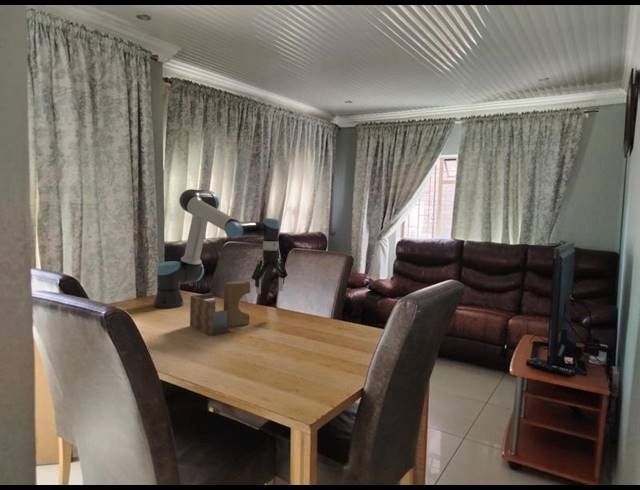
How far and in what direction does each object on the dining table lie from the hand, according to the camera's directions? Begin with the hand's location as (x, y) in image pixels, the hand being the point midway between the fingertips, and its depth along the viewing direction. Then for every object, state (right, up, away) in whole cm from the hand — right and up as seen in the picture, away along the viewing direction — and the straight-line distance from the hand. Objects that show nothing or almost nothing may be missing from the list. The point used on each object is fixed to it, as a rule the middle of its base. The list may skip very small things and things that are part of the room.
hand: (269, 292), depth 206 cm
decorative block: (-14, -14, -11) cm, 23 cm away
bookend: (-19, -15, -25) cm, 34 cm away
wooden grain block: (-24, -14, -20) cm, 34 cm away
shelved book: (-28, -14, -15) cm, 35 cm away
